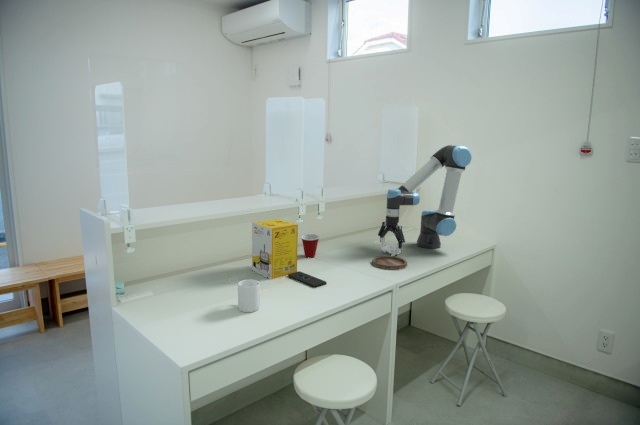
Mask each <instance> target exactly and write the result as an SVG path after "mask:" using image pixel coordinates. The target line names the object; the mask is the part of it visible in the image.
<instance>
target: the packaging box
mask: <svg viewBox="0 0 640 425" xmlns="http://www.w3.org/2000/svg"><path fill="white" fill-rule="evenodd" d="M298 227H299V225H298V223H294V222H292V221H287V220H285V219H284V220H283V219H280V218H277V219H270V220H269V219H268V220H262V221H255V222H254V221H253V222H251V243H252V244H251V250H252V253H251V256H252V257H251V259H252V260H251V261H252V262H251V270H253V272H254V271H255V272H254V273H257V274H259V275H261V276H262V277H266V278H267V277H268V278H267V279H269V278H270V280H273V279H276V278H280V277H284V276H288V274H291V273H295V272H298V245H299V244H298V239H299V238H298V234H299V232H298V230H299V228H298Z"/></svg>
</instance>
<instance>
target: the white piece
mask: <svg viewBox="0 0 640 425" xmlns="http://www.w3.org/2000/svg"><path fill="white" fill-rule="evenodd" d="M397 243H398V241H397V240H393V241H391V242H389V243H387V244H386V245H384V246H383V247H382V248H381V250H382V252H383V253H384V254H386V253H387V252H388V254H391V255H390V256H394V257H396V256H397V255H399V254H396V252H397ZM392 252H393V253H392Z"/></svg>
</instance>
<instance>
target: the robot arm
mask: <svg viewBox="0 0 640 425" xmlns="http://www.w3.org/2000/svg"><path fill="white" fill-rule="evenodd" d="M429 158H430V159H429V160H428V161H427V162H426V163H424V164H423V166H421V167H420V168H419V169H418V170H417V171H416V172H415V173H414V174H412V176H411V177H409V178H408V179H407V180H406V181H405V182H404V183H403V184H402V185H401V186H399V187H398V188H390V189H388V190H387V195H386V210H385V212H386V213H385V215H386V216H385V221H382V223H381V227H380V229H379V231H378V234H377V235H378V237H379V238H380V239H379V243H380V246H379V247H380V249H382V247H383V246H384V245H385V244H386V237H385V236H386V235H387V234H388V233H389V232H391V233H392V234H393V235H394V236H395V239H396V241H397V242H398V243H397V252H396V254H398V255H400V254H401V253H402V252H401V251H402V248H403V243H406V239H405V235H404V232H403V227H402V225H398V223H399V222H400V221H399V220H400V217H399V216H400V206H417V205H419V203H420V201H421V197H420V194H419V193H418V192H414V191H415V190H416V189H418V188H419V187H420V186H421V185H422V184H423V183H425V182H426V180H428V179H429V178H430V177H431V176H432V175H434V173H435V172H437V171H438V170H439V169H442V168H443V167H444V168H445V169H446V173H445V177H444V182H443V186H442V192H441V196H440V200H439V205H438V208H437V209H435V210H431V209H430V210H429V209H427V210H422V212H421V215H420V228H419V229H420V232H419V235H418V237H417V240H416V246H417V247H420V248H424V249H440V248H441V246H442V243H441V238H440V236H443V237H448V236H451V235H452V234H454V232H455V231H456V230H457V222H456V220H455V216H456V214H455V213H454V209H455V208H454V207H455V205H456V200H457V195H458V190H459V186H460V182H461V178H462V177H461V176H462V173H463V172H465V171H466V168H467V166H469V165H470V164H471V162H472V152H471V150H470V149H469V148H468V147H466V146H464V145H452V144H448V145H445V146H443V147H441V148H440V149H438V151H437V150H436V152H434V153H433V154H431V156H430V157H429Z"/></svg>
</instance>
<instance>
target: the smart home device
mask: <svg viewBox="0 0 640 425" xmlns="http://www.w3.org/2000/svg"><path fill="white" fill-rule="evenodd" d="M287 278H289V279H292V280H294V281H296V282H299V283H302V284H304V285H306V286H308V287H311V288H313V289H317V288H320V287H323V286H326V285H327V281H326V280H324V279H320V278H318V277H316V276H314V275H310V274H307V273H305V272H303V271H297V272H295V273H291V274H288V275H287Z"/></svg>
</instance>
